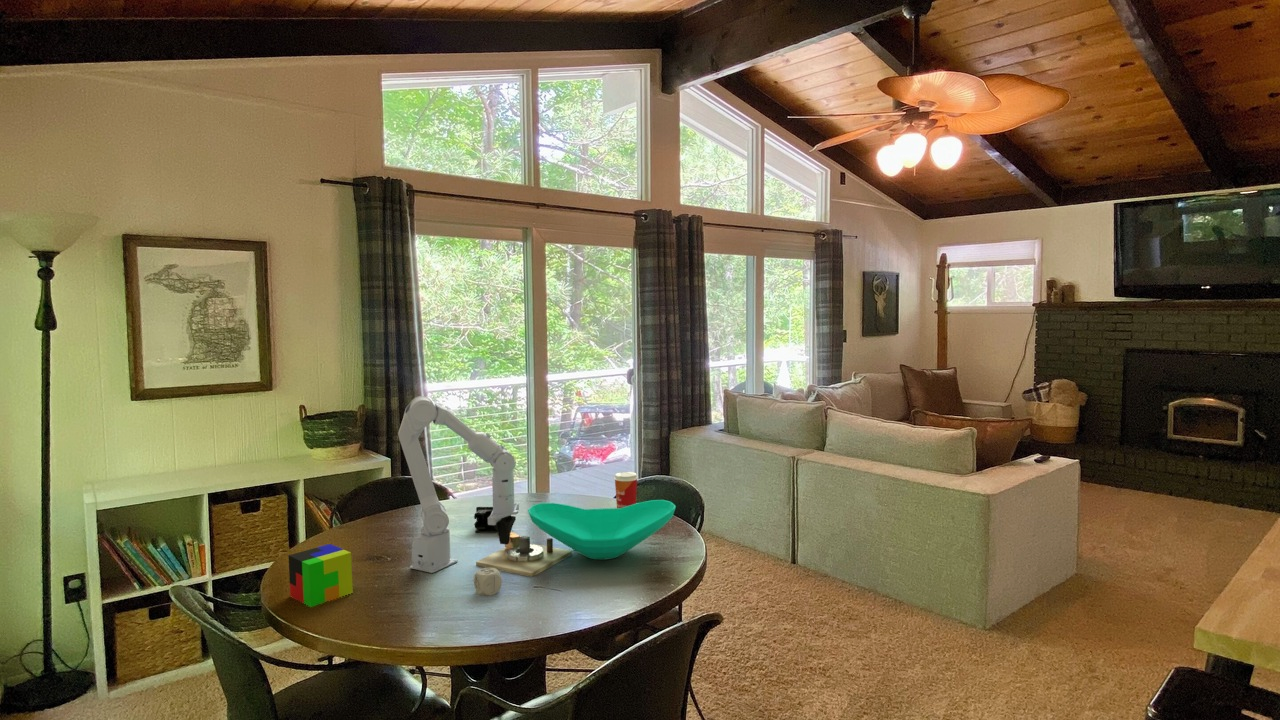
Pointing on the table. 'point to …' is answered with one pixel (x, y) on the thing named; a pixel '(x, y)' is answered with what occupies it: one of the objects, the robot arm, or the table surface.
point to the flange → (514, 550)
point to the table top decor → (602, 526)
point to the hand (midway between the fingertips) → (504, 543)
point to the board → (524, 567)
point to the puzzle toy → (320, 574)
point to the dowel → (549, 545)
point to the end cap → (484, 520)
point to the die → (487, 581)
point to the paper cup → (625, 488)
